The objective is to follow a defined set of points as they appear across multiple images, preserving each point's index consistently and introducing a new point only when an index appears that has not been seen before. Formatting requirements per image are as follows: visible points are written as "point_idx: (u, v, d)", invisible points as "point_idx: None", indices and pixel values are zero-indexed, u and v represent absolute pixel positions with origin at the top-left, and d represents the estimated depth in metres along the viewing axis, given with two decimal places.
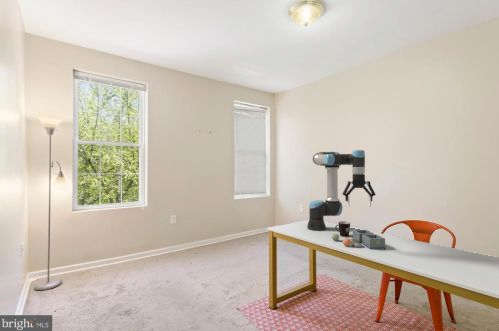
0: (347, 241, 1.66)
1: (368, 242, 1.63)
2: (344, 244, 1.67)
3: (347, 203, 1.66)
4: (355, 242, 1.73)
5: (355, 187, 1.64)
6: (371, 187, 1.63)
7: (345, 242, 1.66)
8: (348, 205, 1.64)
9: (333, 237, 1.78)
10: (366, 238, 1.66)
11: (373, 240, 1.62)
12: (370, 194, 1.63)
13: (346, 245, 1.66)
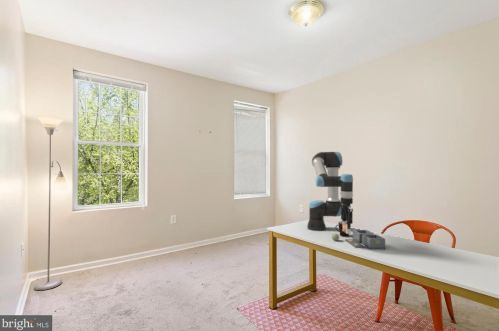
0: None
1: (368, 242, 1.63)
2: (344, 231, 1.67)
3: None
4: (355, 242, 1.73)
5: (343, 210, 1.69)
6: (348, 215, 1.62)
7: (345, 229, 1.67)
8: None
9: (333, 237, 1.78)
10: (366, 238, 1.66)
11: (373, 240, 1.62)
12: (346, 221, 1.65)
13: None
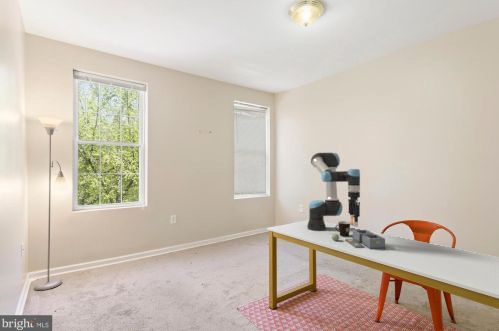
0: None
1: (368, 242, 1.63)
2: (351, 224, 1.72)
3: None
4: (355, 242, 1.73)
5: (350, 204, 1.74)
6: (355, 208, 1.67)
7: (352, 222, 1.71)
8: None
9: (333, 237, 1.78)
10: (366, 238, 1.66)
11: (373, 240, 1.62)
12: (354, 214, 1.70)
13: (353, 225, 1.71)
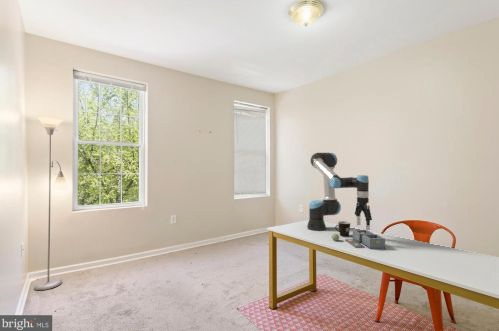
0: None
1: (368, 242, 1.63)
2: None
3: None
4: (355, 242, 1.73)
5: (358, 209, 1.81)
6: (366, 211, 1.71)
7: None
8: (356, 224, 1.85)
9: (333, 237, 1.78)
10: (366, 238, 1.66)
11: (373, 240, 1.62)
12: None
13: None
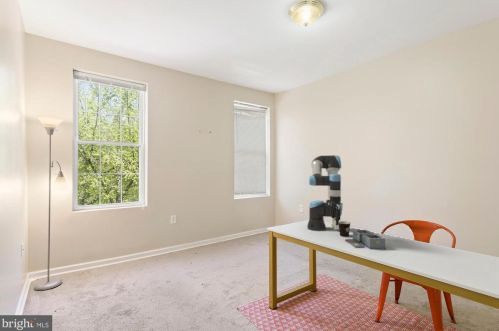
0: None
1: (368, 242, 1.63)
2: None
3: None
4: (355, 242, 1.73)
5: (332, 208, 1.81)
6: (336, 212, 1.74)
7: None
8: None
9: (333, 225, 1.79)
10: (366, 238, 1.66)
11: (373, 240, 1.62)
12: (335, 218, 1.77)
13: None
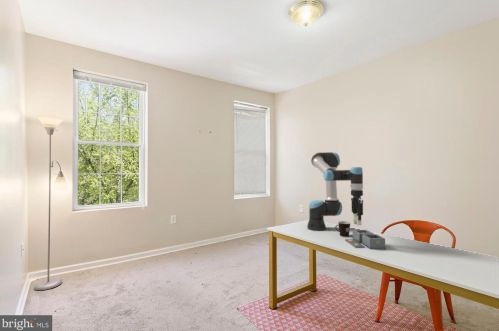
0: None
1: (368, 242, 1.63)
2: None
3: None
4: (355, 242, 1.73)
5: (353, 203, 1.73)
6: (359, 206, 1.66)
7: None
8: (353, 222, 1.74)
9: (355, 221, 1.70)
10: (366, 238, 1.66)
11: (373, 240, 1.62)
12: (357, 213, 1.68)
13: None
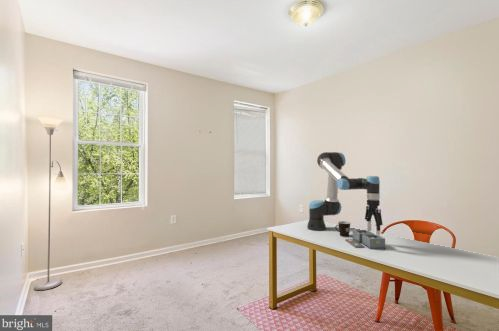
0: None
1: (368, 242, 1.63)
2: None
3: None
4: (355, 242, 1.73)
5: (368, 212, 1.69)
6: (377, 216, 1.60)
7: None
8: None
9: None
10: (366, 238, 1.66)
11: (373, 240, 1.62)
12: (376, 223, 1.61)
13: None
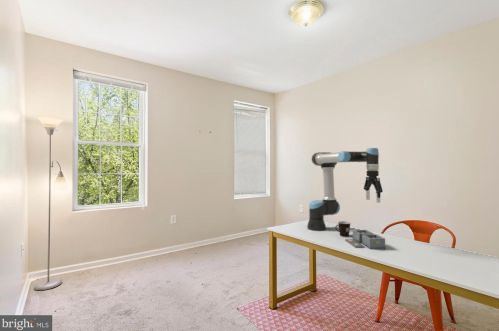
0: None
1: (368, 242, 1.63)
2: None
3: None
4: (355, 242, 1.73)
5: (368, 182, 1.77)
6: (376, 184, 1.67)
7: None
8: None
9: None
10: (366, 238, 1.66)
11: (373, 240, 1.62)
12: (376, 190, 1.68)
13: None
